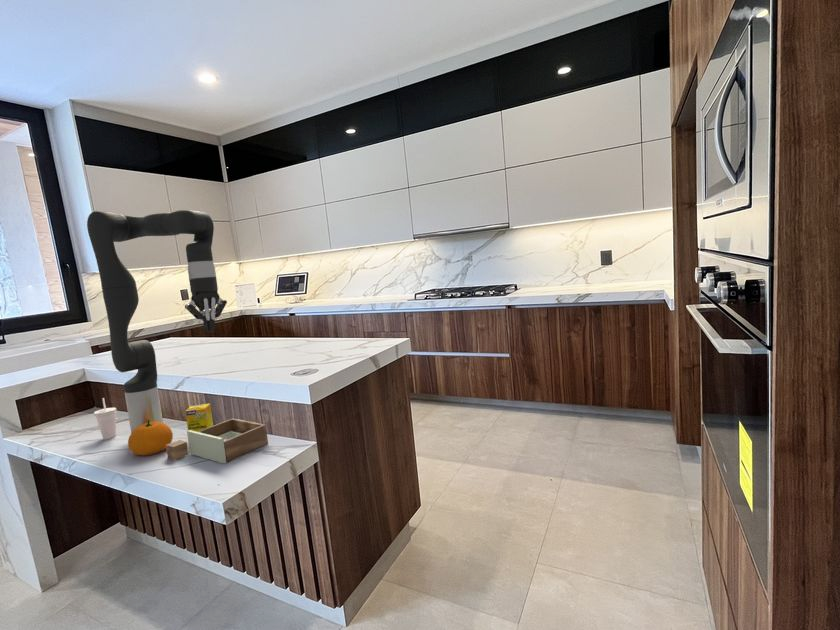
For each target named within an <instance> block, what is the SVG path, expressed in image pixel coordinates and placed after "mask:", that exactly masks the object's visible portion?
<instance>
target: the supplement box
mask: <svg viewBox="0 0 840 630" xmlns="http://www.w3.org/2000/svg"><path fill="white" fill-rule="evenodd" d="M185 419H186V426H187V431H188V430H191V431H195V432H198V431H201V430H203V429H206V428H208V427H211V426H214V423H213V420H214V419H213V415H212V406H211V403H203V404H196V405H190V406H189V407H188V408H187V409H186V410H185Z"/></svg>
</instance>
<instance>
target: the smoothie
mask: <svg viewBox="0 0 840 630" xmlns="http://www.w3.org/2000/svg"><path fill="white" fill-rule="evenodd" d="M101 399H102V405H103V408H102V409H98V410H96V411H94V412H93V414H94V417H95V419H96V421H97V422H96V423H97V425H98V428H99V431H100V434H101V437H102V440H109V439H113V438H115V437H116V436H117V411H118V409H117V408H116V407H107V405H106V401H105V397H103V398H101Z"/></svg>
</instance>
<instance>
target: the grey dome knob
mask: <svg viewBox="0 0 840 630" xmlns="http://www.w3.org/2000/svg"><path fill="white" fill-rule="evenodd" d="M220 438H223V441H226V440H228V439H230V438H233V437H232V436H223V437H220Z"/></svg>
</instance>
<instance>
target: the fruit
mask: <svg viewBox="0 0 840 630" xmlns="http://www.w3.org/2000/svg"><path fill="white" fill-rule="evenodd" d="M149 421H150V420H148V423H145V424H143V425H140V426H138V427H136V428H135V429H134V431H133V432H132V433H131V432H130V435H129V437H128V440H127V446H128V448H129V451H130V452H131V453H132V454H134V455H138V456H150V455H155V454H157V453H158V454H159V453H160V452H162V451H164V450H167V449H166V445H167V444H170V443H172V442H173V441H172V440H173V434H174V433H173V430H172V429H171V428H170V426H168V425H167V424H166V423H164V422H163V423H162V422H150V423H149Z"/></svg>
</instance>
